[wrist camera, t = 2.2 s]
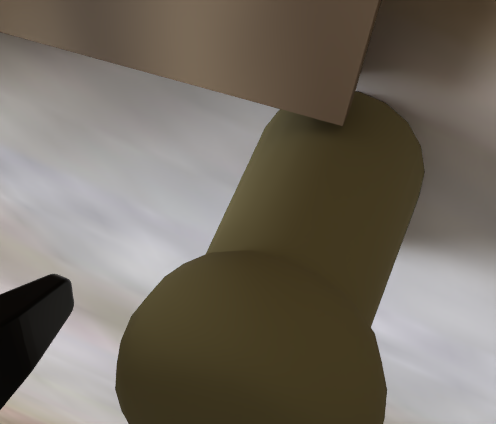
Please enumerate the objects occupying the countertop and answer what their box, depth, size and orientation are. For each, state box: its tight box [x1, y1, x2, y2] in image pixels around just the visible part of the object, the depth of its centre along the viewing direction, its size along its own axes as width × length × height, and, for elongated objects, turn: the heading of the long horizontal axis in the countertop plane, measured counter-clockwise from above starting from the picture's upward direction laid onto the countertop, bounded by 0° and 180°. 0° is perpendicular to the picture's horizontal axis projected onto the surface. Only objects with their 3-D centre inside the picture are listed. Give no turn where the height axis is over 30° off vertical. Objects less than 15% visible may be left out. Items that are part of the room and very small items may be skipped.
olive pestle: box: [115, 91, 425, 424], centre depth 12 cm, size 6×6×11 cm
